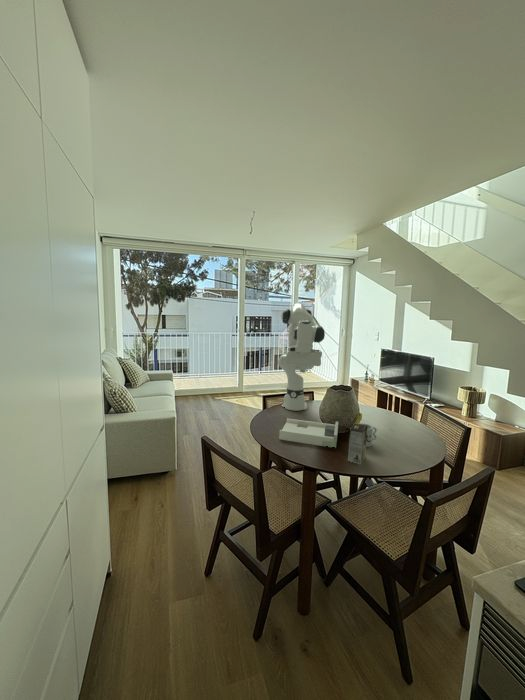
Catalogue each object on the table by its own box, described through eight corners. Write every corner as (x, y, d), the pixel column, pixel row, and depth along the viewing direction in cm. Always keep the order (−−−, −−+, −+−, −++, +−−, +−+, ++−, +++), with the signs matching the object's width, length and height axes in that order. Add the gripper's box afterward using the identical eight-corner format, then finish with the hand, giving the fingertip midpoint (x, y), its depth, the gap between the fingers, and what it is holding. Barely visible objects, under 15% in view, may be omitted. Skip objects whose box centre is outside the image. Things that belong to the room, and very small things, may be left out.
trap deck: (286, 426, 184) (287, 415, 183) (337, 433, 176) (338, 421, 175) (279, 439, 165) (279, 426, 164) (335, 448, 157) (336, 435, 156)
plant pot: (358, 426, 189) (360, 410, 187) (362, 432, 178) (364, 416, 177) (341, 424, 190) (342, 409, 188) (344, 431, 179) (345, 415, 178)
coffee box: (351, 453, 151) (354, 422, 149) (365, 457, 148) (368, 425, 146) (347, 461, 143) (349, 428, 141) (361, 465, 140) (364, 431, 138)
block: (325, 431, 170) (325, 424, 169) (334, 433, 168) (335, 426, 168) (324, 435, 165) (325, 428, 164) (334, 436, 163) (334, 429, 163)
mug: (360, 448, 157) (361, 430, 156) (350, 441, 166) (352, 423, 164) (380, 446, 160) (382, 428, 159) (370, 439, 169) (371, 422, 168)
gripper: (322, 349, 175) (321, 372, 176) (287, 346, 180) (286, 369, 182) (321, 350, 169) (320, 375, 170) (285, 348, 174) (284, 371, 176)
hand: (302, 372), depth 176 cm, fingers closed
